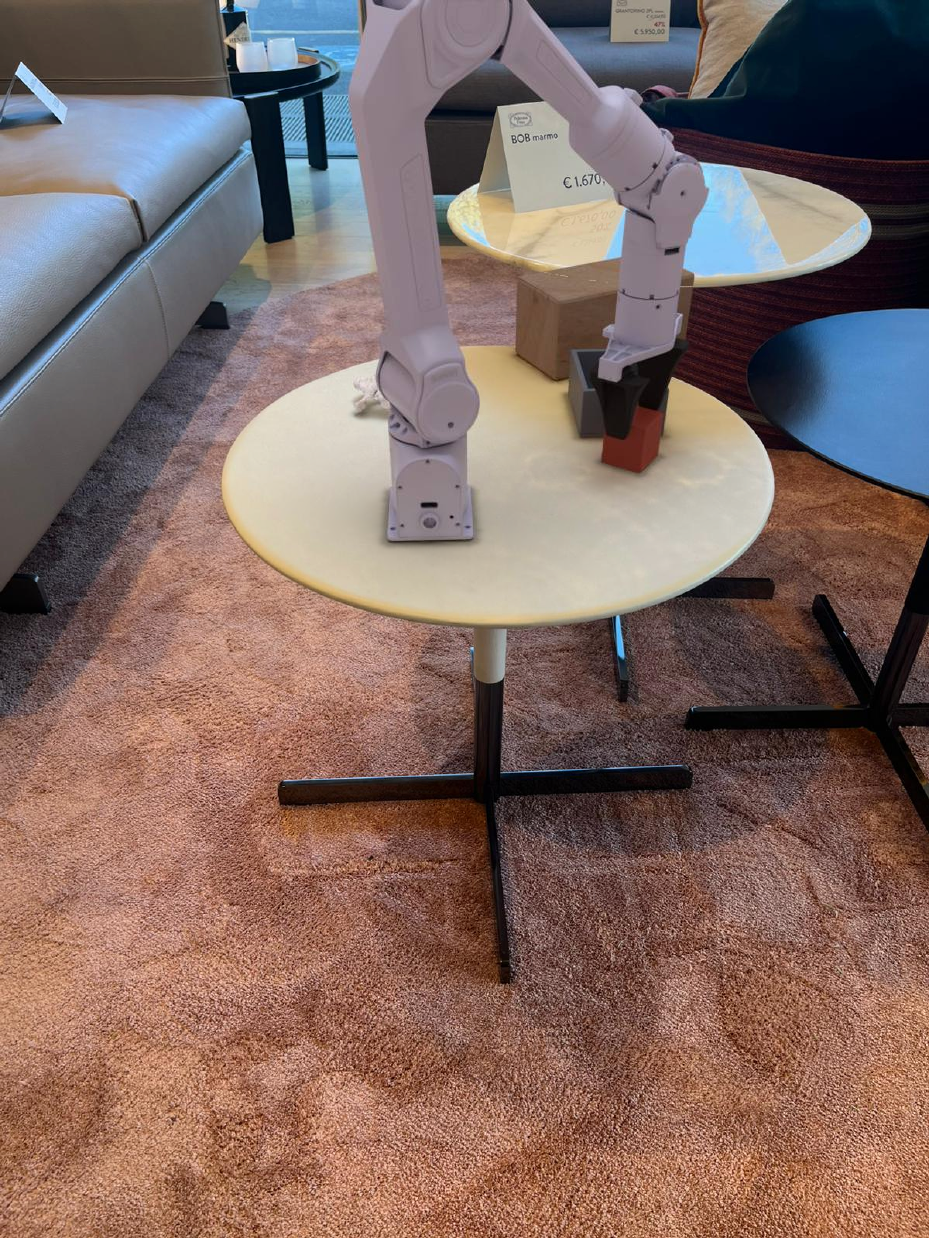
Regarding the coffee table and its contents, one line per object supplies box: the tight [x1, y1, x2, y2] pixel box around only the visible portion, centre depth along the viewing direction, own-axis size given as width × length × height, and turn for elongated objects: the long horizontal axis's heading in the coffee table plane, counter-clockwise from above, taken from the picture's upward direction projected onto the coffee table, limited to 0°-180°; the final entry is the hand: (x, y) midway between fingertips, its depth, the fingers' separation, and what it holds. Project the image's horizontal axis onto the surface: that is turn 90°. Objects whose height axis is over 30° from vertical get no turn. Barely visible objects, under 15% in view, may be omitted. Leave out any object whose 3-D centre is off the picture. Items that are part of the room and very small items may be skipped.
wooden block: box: [514, 256, 695, 381], centre depth 117 cm, size 10×10×20 cm
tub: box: [567, 349, 670, 439], centre depth 104 cm, size 11×9×6 cm
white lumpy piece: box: [353, 374, 390, 413], centre depth 107 cm, size 8×4×7 cm
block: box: [600, 406, 664, 474], centre depth 96 cm, size 4×4×5 cm
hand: (633, 422), depth 95 cm, fingers open, 7 cm apart
